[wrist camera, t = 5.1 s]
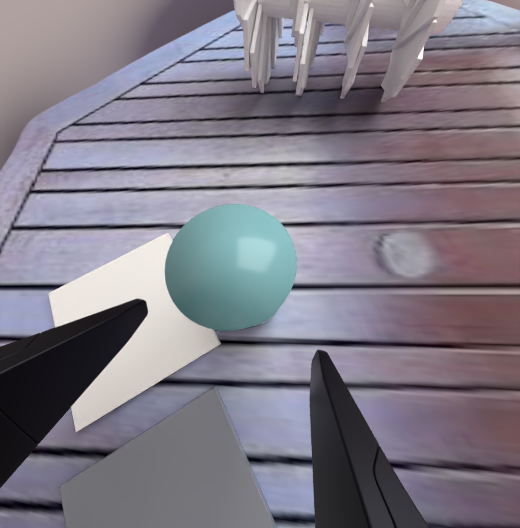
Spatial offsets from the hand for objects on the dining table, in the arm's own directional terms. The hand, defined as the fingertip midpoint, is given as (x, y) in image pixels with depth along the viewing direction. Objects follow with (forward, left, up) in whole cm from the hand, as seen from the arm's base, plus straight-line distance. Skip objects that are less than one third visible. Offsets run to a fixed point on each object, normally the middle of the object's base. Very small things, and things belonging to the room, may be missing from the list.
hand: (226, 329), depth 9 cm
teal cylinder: (+2, +2, -10) cm, 10 cm away
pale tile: (-10, +7, -10) cm, 16 cm away
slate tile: (-12, -10, -10) cm, 19 cm away
